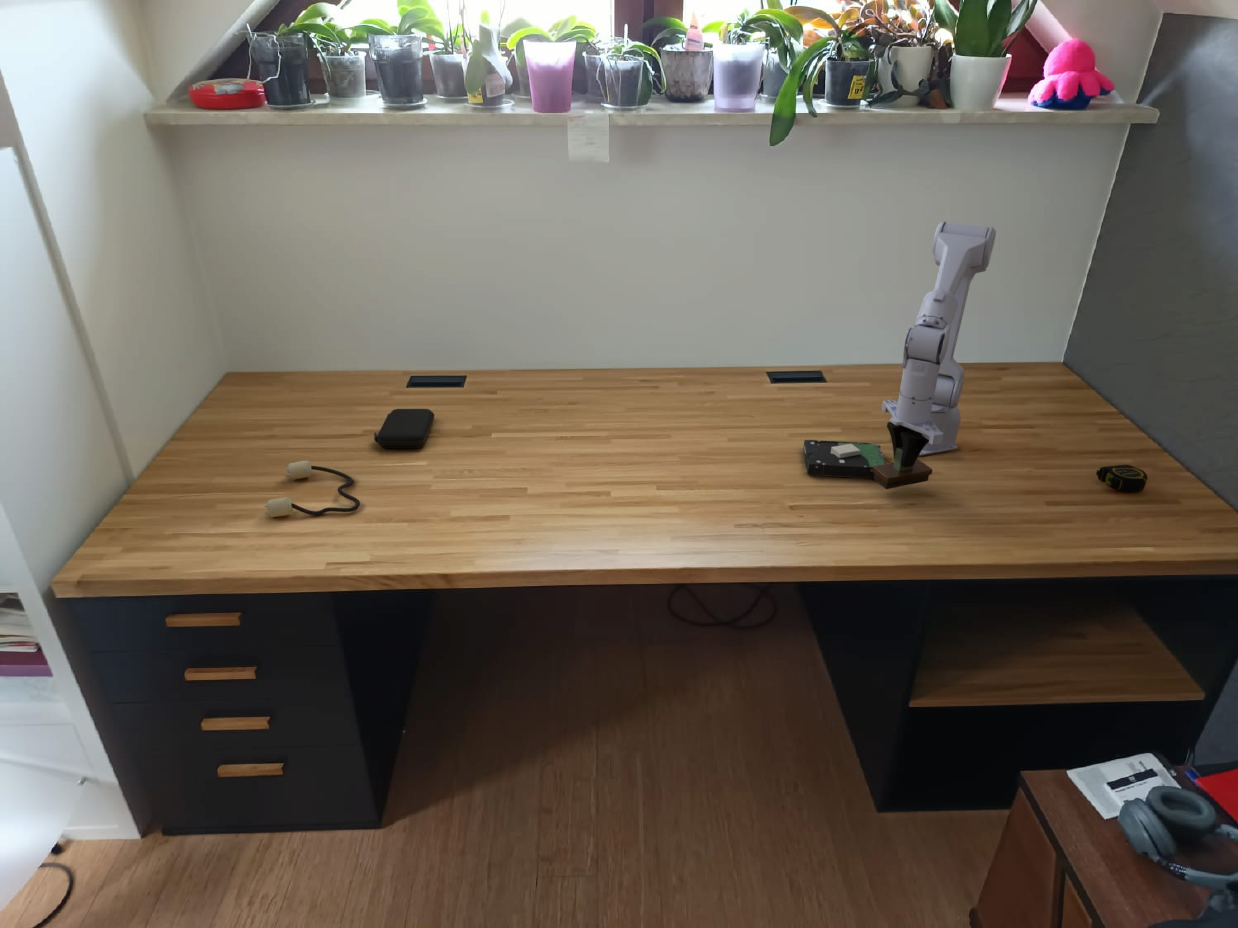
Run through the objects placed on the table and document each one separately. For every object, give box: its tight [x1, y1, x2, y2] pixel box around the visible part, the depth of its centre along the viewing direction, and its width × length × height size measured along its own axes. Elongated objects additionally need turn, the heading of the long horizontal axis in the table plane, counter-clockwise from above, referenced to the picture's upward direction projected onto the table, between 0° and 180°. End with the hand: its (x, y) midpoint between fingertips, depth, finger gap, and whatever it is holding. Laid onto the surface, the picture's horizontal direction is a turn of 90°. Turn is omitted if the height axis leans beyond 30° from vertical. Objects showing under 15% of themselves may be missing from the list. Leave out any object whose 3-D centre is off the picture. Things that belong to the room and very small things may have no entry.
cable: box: [264, 460, 361, 518], centre depth 156 cm, size 16×16×4 cm
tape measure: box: [1095, 464, 1148, 494], centre depth 161 cm, size 7×7×4 cm
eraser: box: [831, 444, 860, 458], centre depth 167 cm, size 4×3×1 cm, turn 110°
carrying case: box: [373, 408, 435, 449], centre depth 178 cm, size 11×3×15 cm
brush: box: [872, 447, 933, 490], centre depth 157 cm, size 10×5×6 cm, turn 110°
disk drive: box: [802, 439, 887, 480], centre depth 168 cm, size 10×3×15 cm
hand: (903, 462), depth 157 cm, fingers closed on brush
